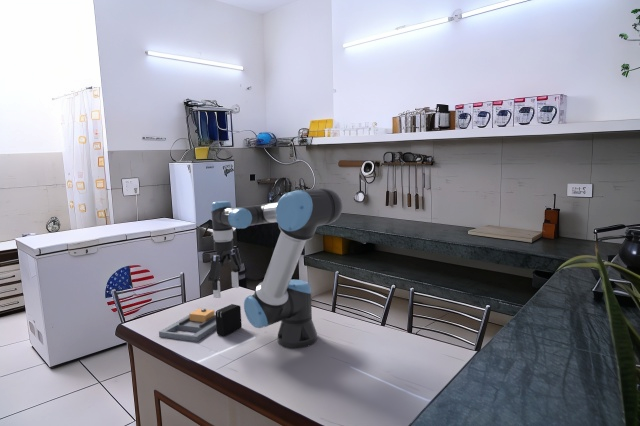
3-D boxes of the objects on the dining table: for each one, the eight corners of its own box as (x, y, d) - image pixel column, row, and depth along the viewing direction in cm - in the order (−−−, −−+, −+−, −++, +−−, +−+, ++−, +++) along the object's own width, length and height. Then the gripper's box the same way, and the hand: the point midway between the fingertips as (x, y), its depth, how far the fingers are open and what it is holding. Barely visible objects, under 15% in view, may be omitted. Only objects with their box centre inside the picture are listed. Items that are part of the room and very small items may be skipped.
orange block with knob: (214, 316, 178) (214, 308, 177) (205, 322, 172) (205, 314, 171) (199, 315, 180) (198, 307, 180) (189, 320, 174) (189, 312, 174)
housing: (224, 323, 176) (223, 316, 175) (196, 341, 158) (196, 333, 158) (189, 319, 182) (188, 312, 181) (159, 336, 164) (158, 328, 164)
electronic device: (241, 328, 170) (240, 305, 169) (224, 337, 162) (222, 312, 160) (234, 326, 172) (233, 303, 171) (216, 335, 164) (215, 311, 163)
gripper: (231, 234, 175) (234, 282, 178) (196, 246, 152) (200, 301, 154) (247, 235, 173) (250, 284, 175) (213, 246, 149) (217, 303, 152)
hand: (226, 292), depth 165 cm, fingers open, 13 cm apart
